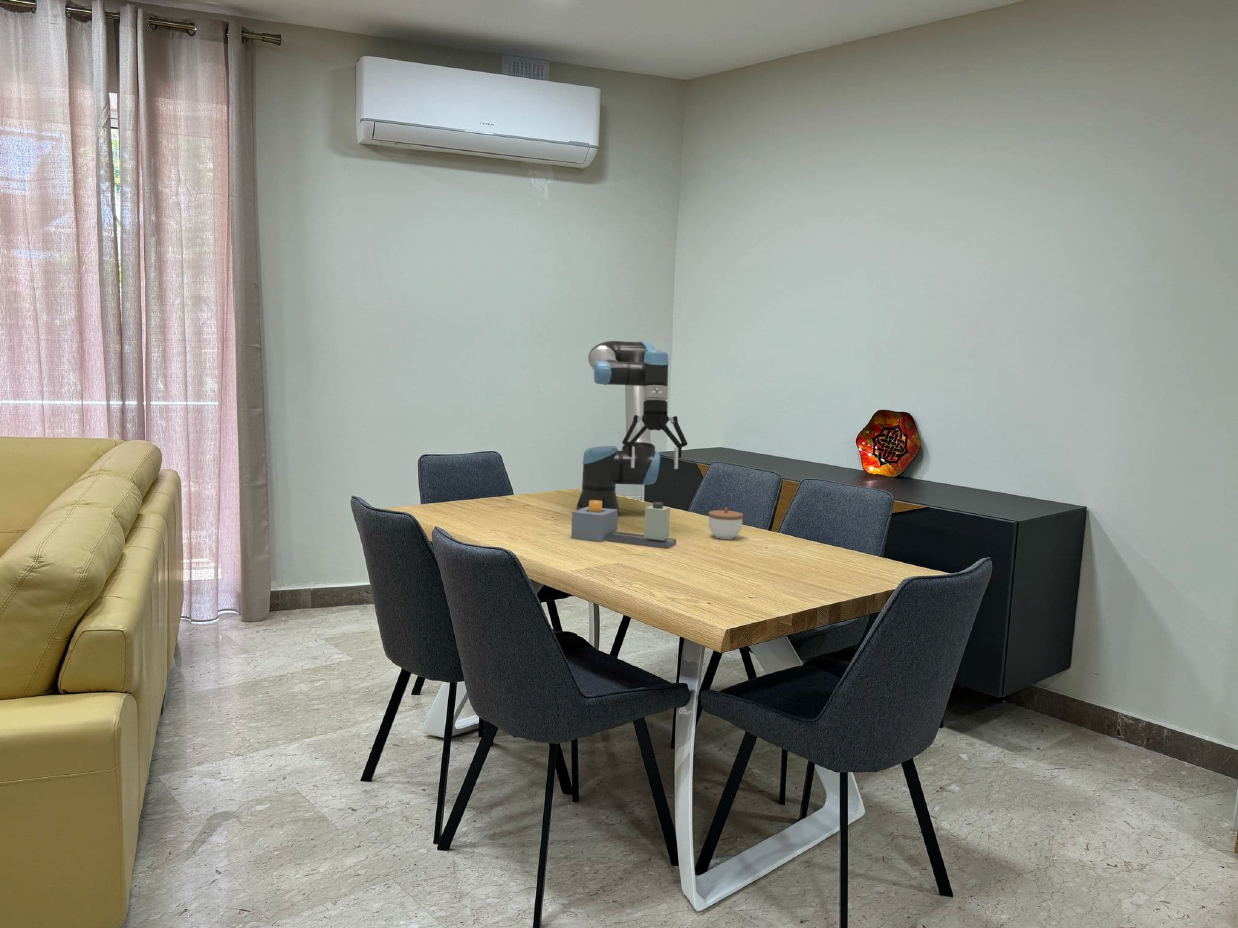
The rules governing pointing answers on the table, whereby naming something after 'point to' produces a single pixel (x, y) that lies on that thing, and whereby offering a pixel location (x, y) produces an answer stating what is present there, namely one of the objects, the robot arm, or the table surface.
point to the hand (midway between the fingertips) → (654, 468)
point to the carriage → (657, 521)
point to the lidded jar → (725, 523)
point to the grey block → (594, 524)
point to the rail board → (640, 540)
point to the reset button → (595, 506)
